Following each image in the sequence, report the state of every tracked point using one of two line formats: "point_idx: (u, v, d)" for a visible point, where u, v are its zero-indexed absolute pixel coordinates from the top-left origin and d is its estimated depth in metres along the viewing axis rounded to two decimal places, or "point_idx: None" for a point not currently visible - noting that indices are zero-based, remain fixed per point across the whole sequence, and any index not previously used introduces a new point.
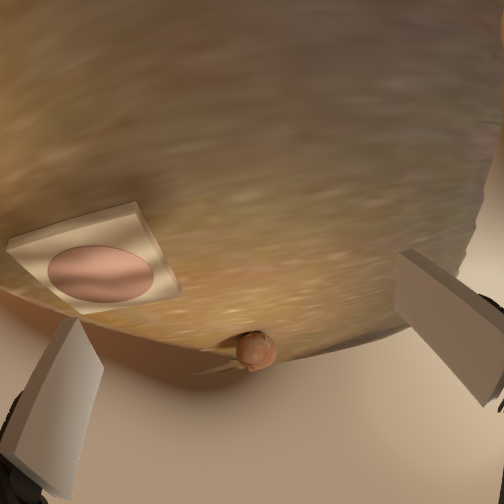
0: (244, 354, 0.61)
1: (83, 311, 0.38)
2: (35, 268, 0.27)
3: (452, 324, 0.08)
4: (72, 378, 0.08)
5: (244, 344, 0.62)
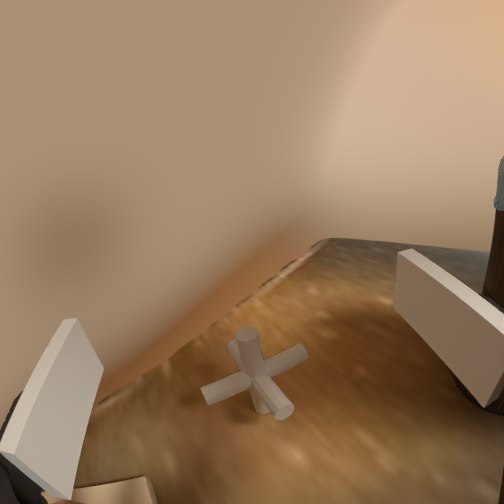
0: None
1: None
2: (104, 496, 0.17)
3: (452, 324, 0.08)
4: (72, 378, 0.08)
5: None
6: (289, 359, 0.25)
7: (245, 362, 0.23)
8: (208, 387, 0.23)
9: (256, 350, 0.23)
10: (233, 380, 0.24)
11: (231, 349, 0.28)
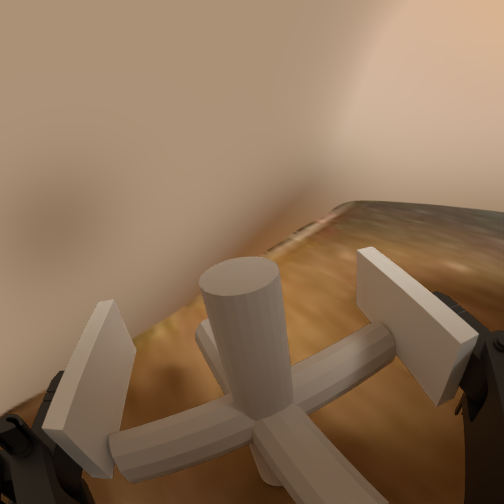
0: None
1: None
2: None
3: (404, 321, 0.09)
4: (111, 357, 0.09)
5: None
6: (356, 363, 0.09)
7: (236, 374, 0.07)
8: (129, 437, 0.07)
9: (273, 335, 0.07)
10: (201, 425, 0.07)
11: (205, 340, 0.12)
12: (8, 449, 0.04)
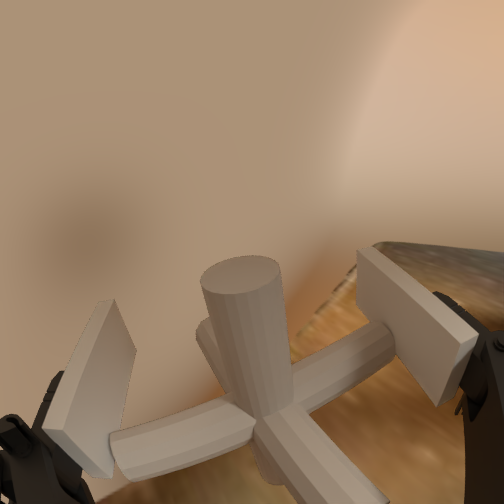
0: None
1: None
2: None
3: (404, 321, 0.09)
4: (111, 357, 0.09)
5: None
6: (356, 362, 0.09)
7: (236, 373, 0.07)
8: (129, 436, 0.07)
9: (274, 333, 0.07)
10: (201, 424, 0.07)
11: (206, 339, 0.12)
12: (8, 449, 0.04)
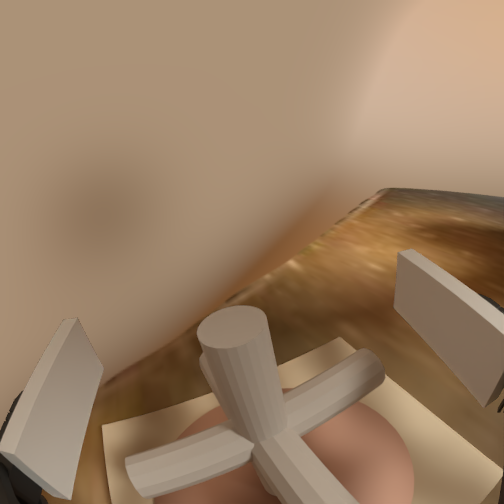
0: None
1: (115, 431, 0.15)
2: (298, 372, 0.19)
3: (452, 324, 0.08)
4: (72, 378, 0.08)
5: None
6: (346, 389, 0.10)
7: (233, 407, 0.08)
8: (143, 460, 0.08)
9: (264, 375, 0.07)
10: (206, 448, 0.08)
11: (208, 367, 0.12)
12: None
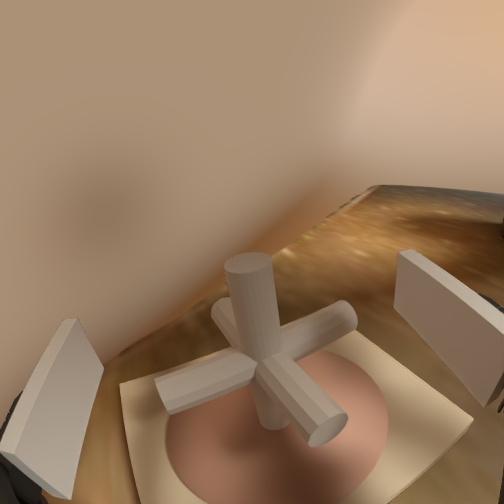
0: None
1: (131, 387, 0.19)
2: None
3: (452, 324, 0.08)
4: (72, 378, 0.08)
5: None
6: (326, 326, 0.14)
7: (245, 325, 0.12)
8: (170, 377, 0.12)
9: (268, 298, 0.11)
10: (220, 365, 0.12)
11: (219, 314, 0.16)
12: None
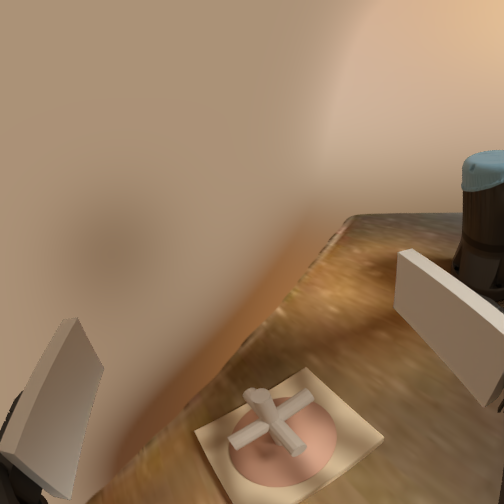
0: None
1: (202, 432, 0.34)
2: (285, 389, 0.38)
3: (452, 324, 0.08)
4: (72, 378, 0.08)
5: None
6: (298, 404, 0.28)
7: (262, 415, 0.26)
8: (234, 436, 0.26)
9: (270, 406, 0.26)
10: (254, 428, 0.27)
11: (248, 398, 0.31)
12: None
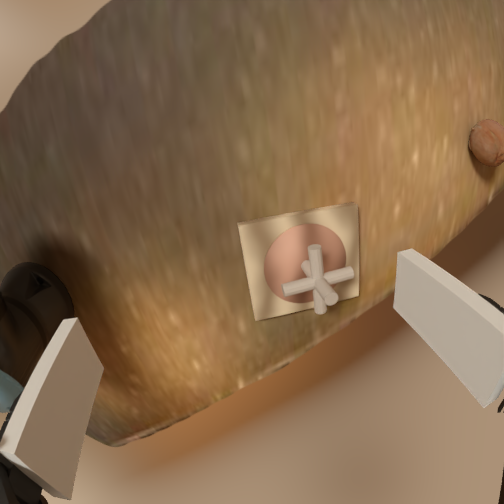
0: (484, 158, 0.39)
1: (353, 293, 0.49)
2: (281, 308, 0.47)
3: (452, 324, 0.08)
4: (72, 378, 0.08)
5: (475, 153, 0.41)
6: (296, 285, 0.39)
7: (329, 285, 0.38)
8: (349, 276, 0.40)
9: (325, 288, 0.37)
10: (334, 278, 0.39)
11: (325, 305, 0.41)
12: None
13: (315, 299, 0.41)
